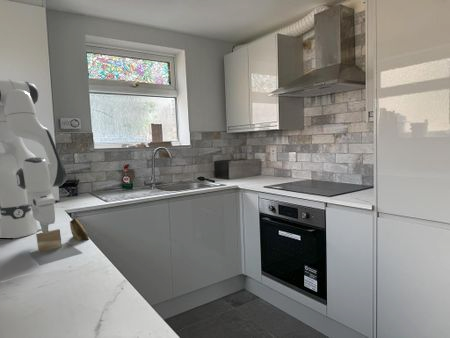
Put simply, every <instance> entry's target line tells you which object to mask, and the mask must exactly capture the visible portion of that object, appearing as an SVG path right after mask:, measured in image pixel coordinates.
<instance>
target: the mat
mask: <svg viewBox="0 0 450 338" xmlns="http://www.w3.org/2000/svg"><path fill="white" fill-rule="evenodd" d="M82 254H83V252H82V251H81V250H79V249H77V248H76V247H75V246H73V245H71V244H70V243H69V242H65V243H62V247H59V248H55V249H51V250H47V251H43V252H40V253H39V252H38V249H37V250H34V251H33V250H32V251H30V252H28V255H29V256H31V257H32V258H33V260H35V262H36V263H37V264H38V265H39V266H43V265H48V264H51V263H53V262H56V261H60V260H63V259H68V258H70V257H74V256H78V255H82Z"/></svg>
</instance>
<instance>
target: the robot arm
mask: <svg viewBox="0 0 450 338" xmlns="http://www.w3.org/2000/svg"><path fill="white" fill-rule="evenodd" d="M38 99H39V91H38V88H37V87H36V85H35V84H34V83H32V82H28V81H20V80H16V79H15V80H14V79H0V145H1V146H2V147H3V150H4V152H0V216H1V217H0V238H13V239H19V238H23V237H26V236H30V235H33V234H36V233H37V232H39V231H41V233H43V232H47V231H49V226H50V225H52V224H53V225H54V224H55V222H56V211H55V203H56V198H55V197H54V194H53V187H62V186H63V184H64V183H66V181H67V180H68V172H67V170H66V168H65V166H64V164H63V162H62V160H61V156H60V154H59V152H58V150H57V148H56V144H55V142H54V139H53V136H52V134H51V132H50V131H49V129H48V128H47V127H45V126H44V125H42V124H41V123H40V121H39V118H38V115H37V111H36V107H35V104H36V103H37V102H38V101H39V100H38ZM23 139H25V140H30V141H33V142H37V143H38V144H40V145H41V146H42V147H43V150H44V153H45V154H46V155H45V156H46V158H47V159H48V162H49V163H48V162H47V160H46V158H43V157H37V155H35V154H34V153H32V151H30V149H28V148H27V147H26V145H25V143H24V140H23ZM15 176H16V178H15ZM16 179H17V180H16ZM38 222H39V225H40V226H39V225H38Z"/></svg>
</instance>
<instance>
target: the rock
mask: <svg viewBox="0 0 450 338" xmlns="http://www.w3.org/2000/svg"><path fill="white" fill-rule="evenodd" d="M69 226H70V227H69V228H70V231H71V234H72V237H73V238H75V240H77V242H82V241H88V240H90V238H89V236H88V233H87V230H86V229H85V227H84V226H83V225H82V223H81V221H79V220H78V219H77V218H76V217H74V218H73V219H71V220H70V221H69Z"/></svg>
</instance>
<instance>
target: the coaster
mask: <svg viewBox="0 0 450 338" xmlns="http://www.w3.org/2000/svg"><path fill="white" fill-rule="evenodd" d="M61 235H62V234H61V229H59V228H56V229H52V230H48V231H47V232H40V233H35V236H36V243H37V250H38V252H39V253H40V252H43V251H47V250H51V249H55V248H59V247H62V244H63V243H62V237H61Z"/></svg>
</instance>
